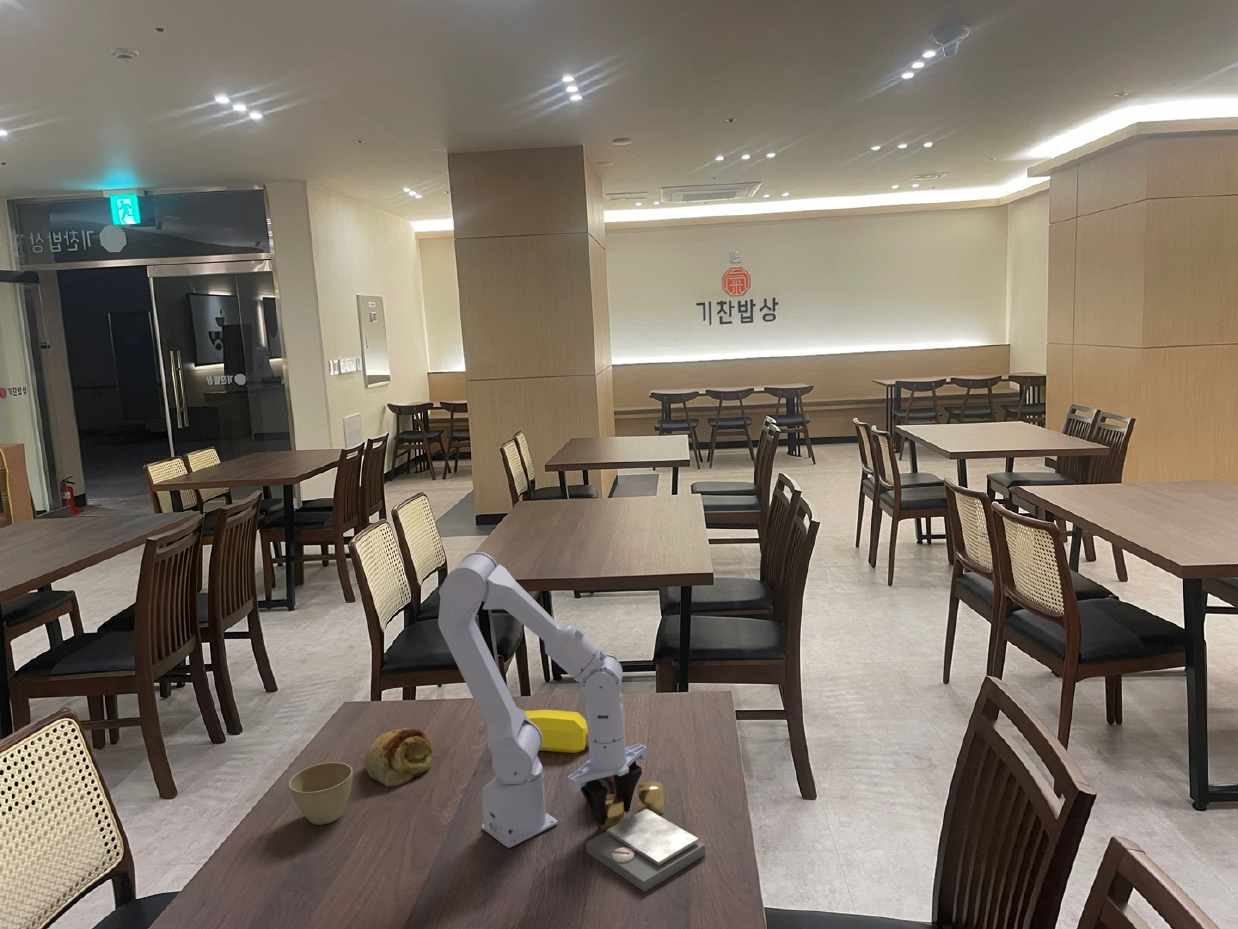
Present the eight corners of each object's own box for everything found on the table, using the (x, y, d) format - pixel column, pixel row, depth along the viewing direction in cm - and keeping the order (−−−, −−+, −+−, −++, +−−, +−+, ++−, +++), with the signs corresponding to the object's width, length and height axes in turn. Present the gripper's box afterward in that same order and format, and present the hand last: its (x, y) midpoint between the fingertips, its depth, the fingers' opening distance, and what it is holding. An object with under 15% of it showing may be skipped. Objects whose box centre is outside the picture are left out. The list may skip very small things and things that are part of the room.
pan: (658, 868, 123) (658, 862, 123) (607, 835, 132) (607, 829, 132) (698, 844, 128) (698, 838, 128) (646, 814, 137) (646, 808, 137)
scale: (644, 892, 120) (643, 879, 120) (586, 852, 130) (585, 840, 130) (705, 855, 128) (704, 842, 128) (646, 820, 138) (645, 808, 138)
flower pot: (368, 803, 148) (364, 763, 147) (334, 837, 138) (329, 795, 137) (317, 797, 151) (312, 759, 150) (280, 830, 141) (275, 789, 140)
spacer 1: (610, 835, 135) (609, 811, 134) (594, 824, 138) (593, 801, 137) (630, 824, 137) (628, 801, 136) (614, 814, 140) (612, 791, 139)
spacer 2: (651, 819, 138) (650, 796, 137) (634, 810, 141) (632, 787, 140) (669, 809, 140) (668, 786, 140) (651, 801, 143) (650, 778, 143)
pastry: (413, 790, 151) (408, 747, 150) (349, 784, 155) (344, 742, 154) (449, 751, 165) (445, 711, 164) (390, 747, 168) (386, 708, 167)
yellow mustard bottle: (590, 758, 159) (597, 738, 167) (587, 723, 158) (595, 705, 166) (495, 756, 162) (506, 736, 170) (492, 722, 161) (503, 704, 169)
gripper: (585, 760, 127) (591, 845, 129) (658, 727, 136) (662, 807, 139) (557, 744, 133) (563, 826, 135) (629, 713, 142) (633, 791, 144)
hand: (611, 815), depth 137 cm, fingers open, 4 cm apart
